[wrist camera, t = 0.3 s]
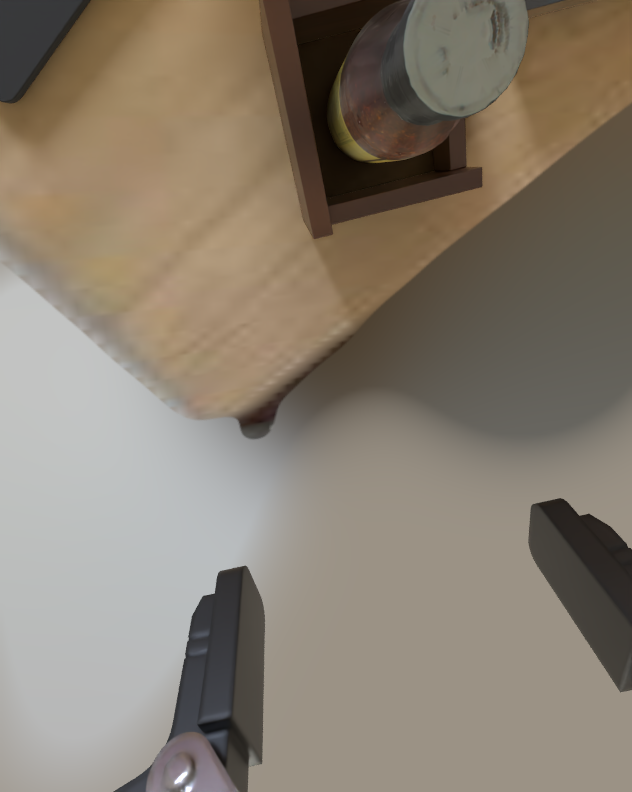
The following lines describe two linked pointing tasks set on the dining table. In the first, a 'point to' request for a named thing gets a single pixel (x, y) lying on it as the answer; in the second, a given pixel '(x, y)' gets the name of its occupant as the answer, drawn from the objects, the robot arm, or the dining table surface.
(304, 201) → the spice rack
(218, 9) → the dining table surface
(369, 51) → the sauce bottle
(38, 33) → the phone
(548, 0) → the hob
